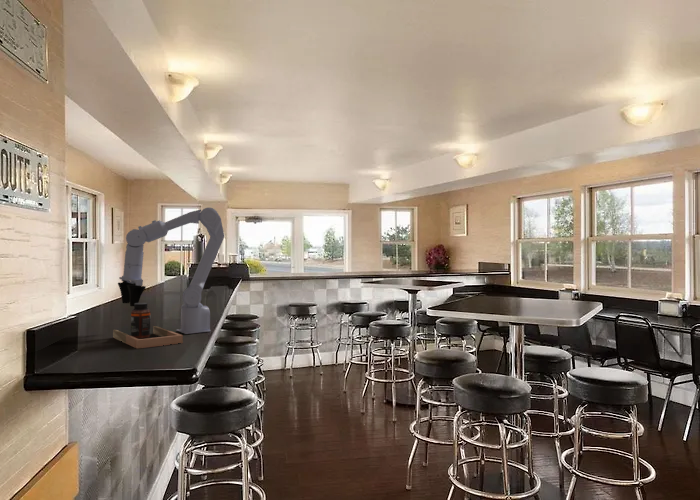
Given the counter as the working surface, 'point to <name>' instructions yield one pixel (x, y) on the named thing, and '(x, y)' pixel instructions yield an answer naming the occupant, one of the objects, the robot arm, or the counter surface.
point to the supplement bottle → (140, 321)
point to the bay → (165, 338)
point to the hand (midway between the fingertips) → (129, 304)
